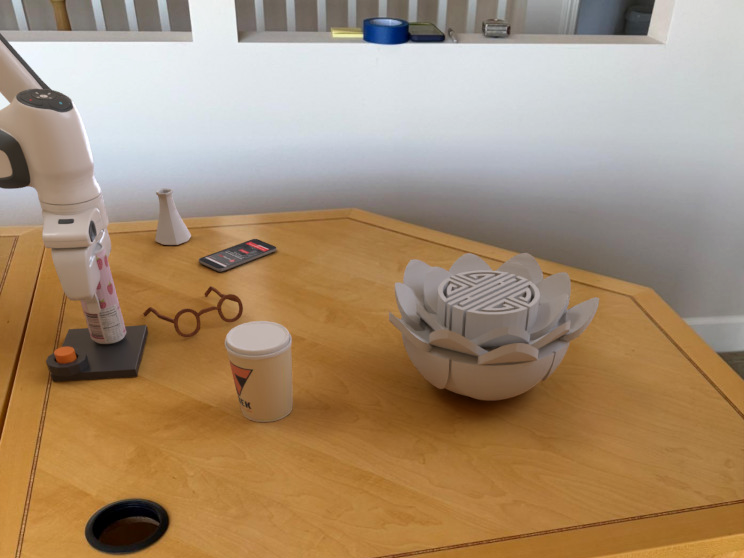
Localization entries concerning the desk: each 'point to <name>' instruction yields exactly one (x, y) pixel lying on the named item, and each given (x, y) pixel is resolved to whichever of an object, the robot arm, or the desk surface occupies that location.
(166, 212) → the flask
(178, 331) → the glasses
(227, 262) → the smartphone
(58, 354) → the power button
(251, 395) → the coffee cup
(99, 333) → the beverage can
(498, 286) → the decorative bowl
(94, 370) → the scale
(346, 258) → the desk surface
